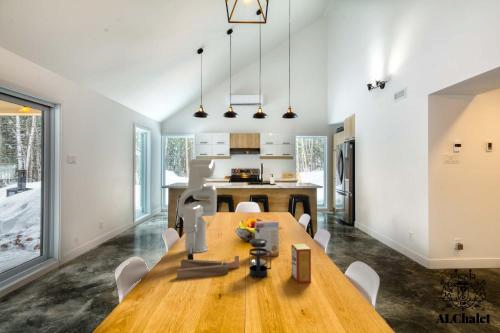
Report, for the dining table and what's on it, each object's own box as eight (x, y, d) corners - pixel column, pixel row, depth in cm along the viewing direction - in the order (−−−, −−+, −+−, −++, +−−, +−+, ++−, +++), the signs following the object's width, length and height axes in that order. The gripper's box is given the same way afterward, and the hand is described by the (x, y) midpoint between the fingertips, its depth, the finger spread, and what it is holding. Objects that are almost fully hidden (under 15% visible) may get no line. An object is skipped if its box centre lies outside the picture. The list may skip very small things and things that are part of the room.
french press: (247, 278, 127) (247, 231, 127) (248, 270, 136) (247, 226, 136) (271, 278, 126) (271, 231, 126) (270, 271, 136) (270, 226, 136)
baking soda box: (291, 275, 130) (291, 243, 130) (304, 274, 131) (304, 242, 131) (297, 283, 121) (297, 248, 121) (310, 282, 122) (310, 248, 122)
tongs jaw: (182, 266, 142) (182, 259, 142) (222, 268, 138) (222, 261, 138) (180, 268, 139) (180, 260, 139) (220, 270, 136) (220, 263, 136)
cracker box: (276, 252, 165) (276, 219, 165) (279, 256, 159) (279, 221, 159) (254, 254, 162) (254, 220, 162) (256, 257, 156) (256, 222, 156)
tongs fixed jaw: (177, 275, 130) (177, 266, 130) (227, 270, 136) (227, 261, 136) (176, 279, 126) (176, 269, 126) (228, 273, 132) (228, 264, 132)
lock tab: (225, 267, 140) (225, 255, 140) (238, 266, 142) (238, 254, 142) (226, 268, 138) (226, 256, 138) (239, 267, 140) (238, 255, 140)
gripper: (183, 226, 152) (183, 258, 151) (183, 232, 137) (183, 267, 137) (196, 225, 153) (196, 257, 153) (198, 231, 139) (198, 266, 139)
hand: (190, 261), depth 145 cm, fingers closed
